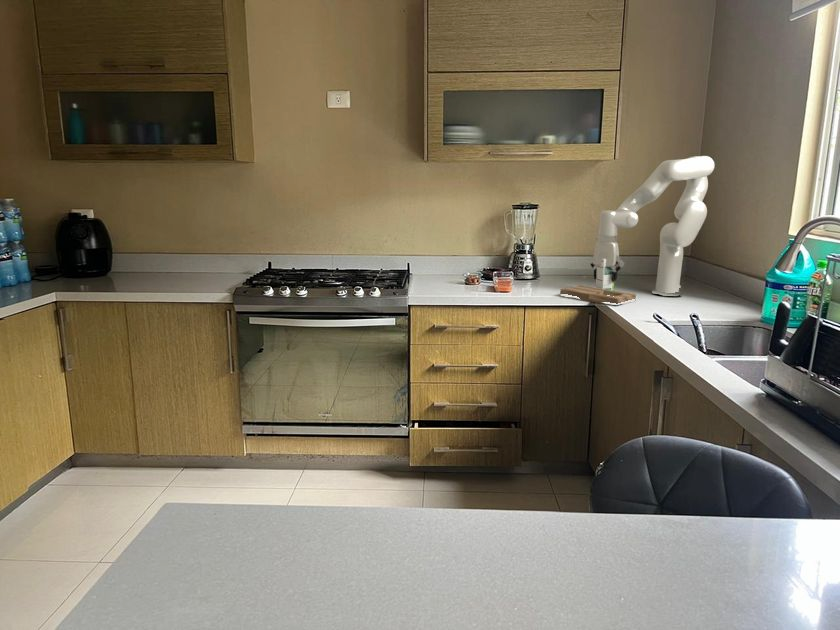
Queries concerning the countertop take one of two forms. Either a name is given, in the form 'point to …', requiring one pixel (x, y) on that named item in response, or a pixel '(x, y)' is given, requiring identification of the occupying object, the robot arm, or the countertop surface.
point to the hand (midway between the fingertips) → (605, 279)
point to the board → (598, 294)
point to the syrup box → (604, 276)
